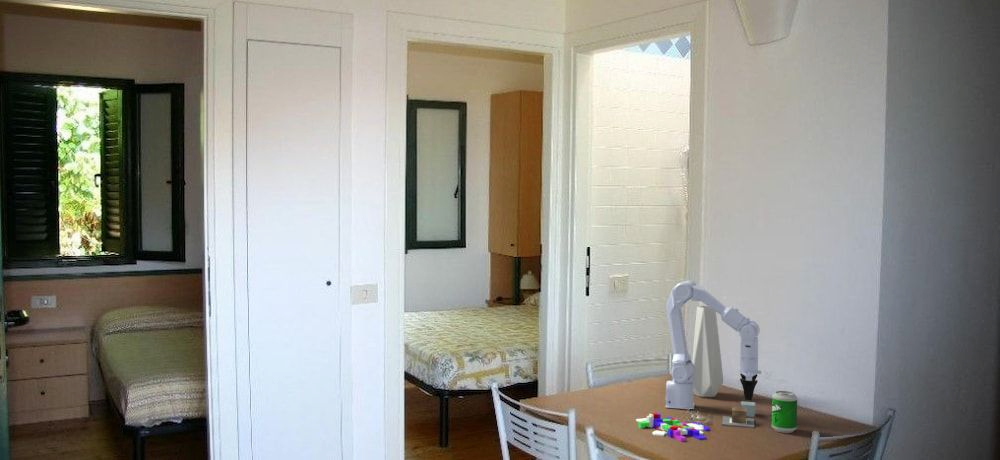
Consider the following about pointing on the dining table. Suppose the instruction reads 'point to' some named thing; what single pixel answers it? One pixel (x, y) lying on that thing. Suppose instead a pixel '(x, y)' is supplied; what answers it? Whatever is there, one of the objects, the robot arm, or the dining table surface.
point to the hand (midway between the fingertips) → (748, 397)
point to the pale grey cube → (749, 408)
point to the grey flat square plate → (728, 422)
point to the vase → (706, 354)
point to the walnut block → (738, 415)
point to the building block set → (673, 427)
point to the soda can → (784, 411)
